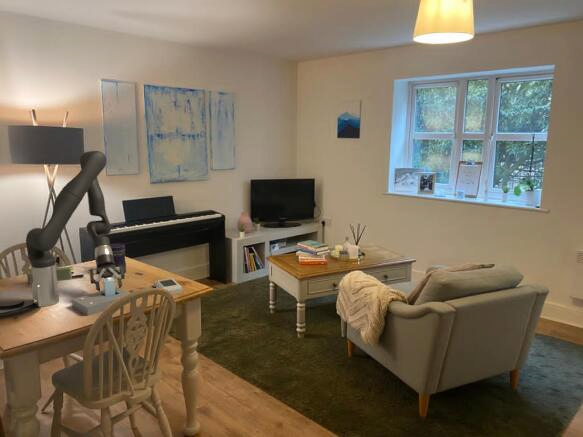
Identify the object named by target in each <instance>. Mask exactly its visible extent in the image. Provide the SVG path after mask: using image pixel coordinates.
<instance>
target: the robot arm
mask: <svg viewBox="0 0 583 437" xmlns="http://www.w3.org/2000/svg"><path fill="white" fill-rule="evenodd" d="M79 164H80V171H79V172H78V173H77V174H76V175H75V176H74V177H73V178H72V179H71V180H70V181H68V182H67V183H65V185H64V186H63V187H62V188H61V190H60V192H59V193H58V195H57V196H56V198H55V199H54V203H53V207H52V208H53V209H52V212H51V216H50V219H49V220H48V222H47V223H46V225H45V226H44V227H43V228H41V227H34V228H32V229H30V230H29V231H28V232H27V233H26V238H25V245H26V252H27V258H28V261H29V263H30V264H31V265H30V266H31V271H32V276H33V283H32V284H31V291H32V299H33V298H34V299H35V300H37V302H38V306H39V307H38V306H37V307H38V308H40V307H47V306H48V307H49V306H53V305H55V304H58V303H59V302H60V296H59V286H58V281H57V273H56V268H57V263H56V262H57V261H56V258H55V256H54V255H53V254H52V253H51V250H52V249H54V247H55V246H56V245H57V243H58V241H59V240H60V237H61V235H62V233H63V231H64V229H65V227H66V226H67V224H68V222H69V220H70V219H71V217H72V216H73V214H74V212H75V211H76V210H77V208H78V207H79V205H80V204H81V202H82V200H83V199H84V196H85V195H86V193H87V202H88V203H87V204H88V211H89V215H91V216H93V217H100V218H101V220H99V219H98V220H91V221H89V222H87V224H86V231H87V233H88V235H89V237H90V239H91V241H92V243H93V249H94V259H95V265H96V269H92V268H91V269H89V278H90V279H89V280H90V284H91V285H93V284H94V285H95V289H96V291H97V292H100V291H101V286H100V282H101V281H102V280H103V279H106V278H108V277H111V278H113V279H114V280H116V281H117V285H118V289H121V288H122V287H123V281H122V280H125V278H126V275H125V274H126V273H124V270H123V266H122V265H120V267H115V264H114V259H113V253H112V250H111V246H110V244H111V242H110V238H109V237H108V236H106V235H109V234H110V233H111V231H112V226H111V223H110V221H109V218H108V215H107V211H106V204H105V203H106V202H105V197H104V194H103V190H102V189H101V186H100V183H99V179H98V176H99V175H100V174H101V172H102V171H103V170H104V169H105V168H106V165H107V157H106V154H105V153H104V152H102V151H98V150H91V151H86V152H83V153H82V154H81V155H80V157H79ZM116 270H118V271H119V272H120V273H121V275H118V273H116ZM96 274H97V277H96V279H95V278H94V276H95V275H96Z"/></svg>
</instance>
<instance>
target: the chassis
mask: <svg viewBox="0 0 583 437" xmlns="http://www.w3.org/2000/svg"><path fill="white" fill-rule="evenodd" d="M127 294H129V292H127V291H126V290H123V289H121V288H119V287H116V286H115V295H113V296H109V297H105V296H104V290H100V291H97V292H94V293H89V294H86V295H83V296H78V297H74V298H71V305H72V306H71V307H72V308H74V309H76V311H77V310H78V312H81V313H83V314H85V315H86V316H91V315H95V314H98V313H101V312H104V311H103V310H104V309H106V308H107V307H108V306H109V305H110V304H112V303H113V302H115V301H116V300H117V299H119V298H121V297H123V296H125V295H127Z"/></svg>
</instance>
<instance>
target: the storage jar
mask: <svg viewBox="0 0 583 437" xmlns="http://www.w3.org/2000/svg"><path fill="white" fill-rule="evenodd" d="M110 246H111V250H112V253H113V259H114V264H115V267H120V265H122V266H123V270H124V273H125V274H126V273H127V262H126V247H125V243H122V242H120V243H119V242H116V243H110ZM116 273H118V275H120V276H121V273H120V272H119V271H118V270H116Z"/></svg>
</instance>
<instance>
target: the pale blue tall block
mask: <svg viewBox="0 0 583 437" xmlns="http://www.w3.org/2000/svg"><path fill="white" fill-rule="evenodd" d="M102 281H103V291H104V296H105V297H109V296H113V295H115V287H116V286H115V285H116V284H115V278H114V277H108V278H102Z"/></svg>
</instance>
